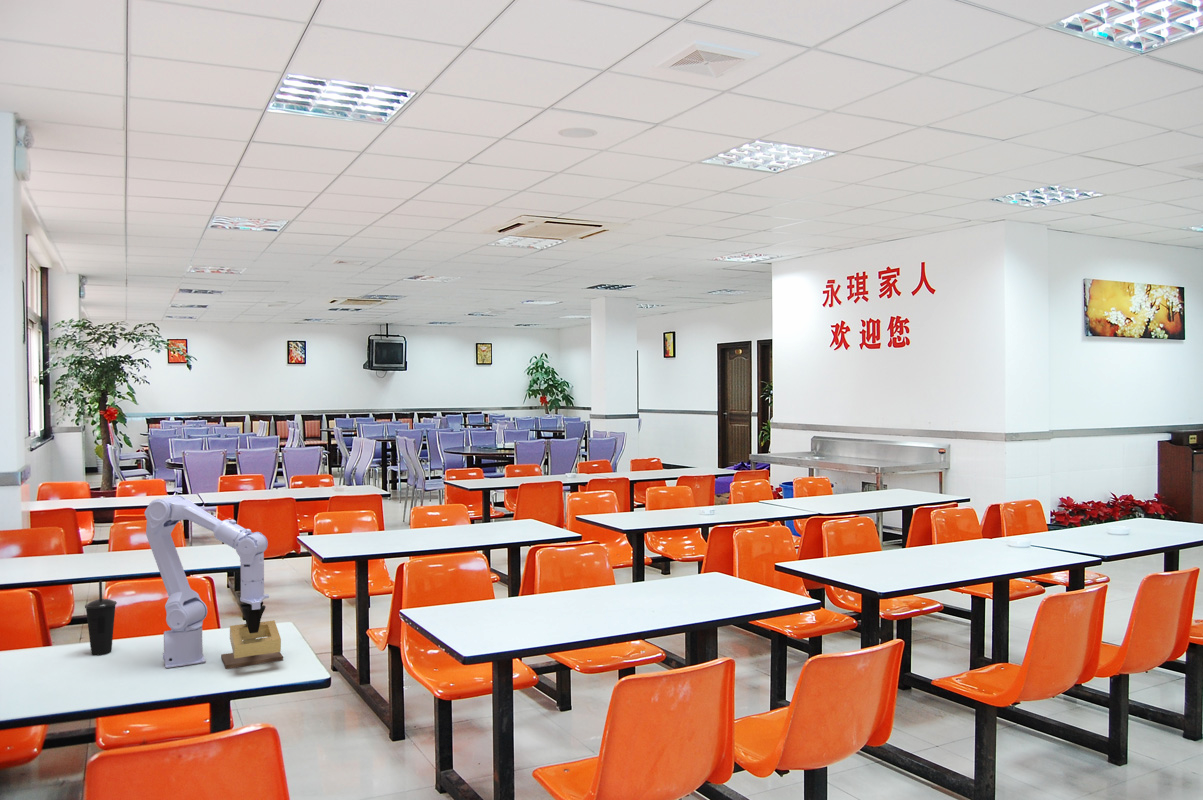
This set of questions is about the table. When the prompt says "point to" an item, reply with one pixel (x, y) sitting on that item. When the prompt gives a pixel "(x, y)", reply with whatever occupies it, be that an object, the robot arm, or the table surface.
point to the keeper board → (249, 659)
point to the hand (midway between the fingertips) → (252, 631)
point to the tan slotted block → (255, 640)
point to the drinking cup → (100, 624)
